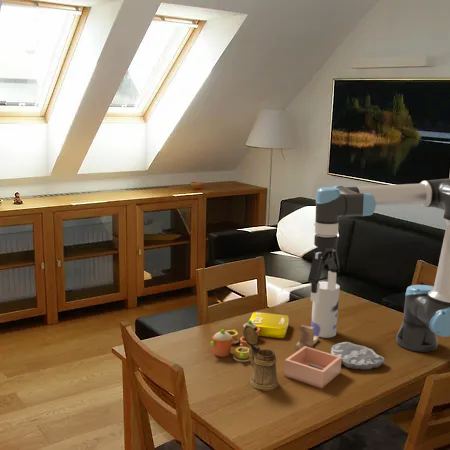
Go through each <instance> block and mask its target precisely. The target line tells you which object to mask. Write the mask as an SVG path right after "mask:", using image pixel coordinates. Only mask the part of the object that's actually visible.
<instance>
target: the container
mask: <svg viewBox="0 0 450 450" xmlns="http://www.w3.org/2000/svg"><path fill="white" fill-rule="evenodd" d="M318 283H320V290H319V302H313V301H312V306H311V308H312V309H311V323H310V327H314V336H318V338H327V339H329V338H334V337H335V336H336V335H337V327H338V316H339V315H338V314H339V313H338V312H339V300H340V289H341V288H340V287H341V286H340V285H339V284H338V283H336V290H335V291H332V290H327V287H328V281H319V282H318Z"/></svg>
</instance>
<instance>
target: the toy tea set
mask: <svg viewBox="0 0 450 450" xmlns="http://www.w3.org/2000/svg"><path fill="white" fill-rule="evenodd" d="M246 325H248V326H251V327H252V328H253V329H254V330H255V331H256V333H257V335H258V337H259V331H260V328H259V327H257V326H256V325H255V324H254V323H252V321H251V320H250V319H249V320H248V321H247V322H245V323H244V324H243V325H242V326H243V329H244V328H245V326H246ZM238 335H239V333H238V331H237V330H236V329H229V330H225V329H223V328H222V329H221V330H220V331H218V332H216V333H215V334H213V335H212V336H211V341H210V346H212V350H213V354H214V355H215V356H216V357H221V358H223V357H224V358H225V357H228V356H229V355H230V354H231V350H232V349H231V348H232V345H236V344H238V343H239V342H240V344H239V346H237V347H236V348H235V349H234V350H235V353H234V354H233V356H232V357H233V359H234V361H236V362H241V363H246V362H250V359H249V349H250V347H251V346H250V345H249V344H248V343H247V342H246V341H245V339H244V336H241V337H238ZM239 338H240V339H239Z"/></svg>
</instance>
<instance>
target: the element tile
mask: <svg viewBox="0 0 450 450" xmlns="http://www.w3.org/2000/svg"><path fill="white" fill-rule="evenodd" d="M289 319H290V318H289V316H288V315H287V314H280V313H278V314H277V313H269V312H259V311H254V312H252V314H251V316H250V318H249V320H251V321H252V323H254V324H255V325H256V326H257V327H259V328H260V331H259V336H260V337H267V338H278V339H284V338H285V337H286V334H287V330H288V327H289V321H290V320H289ZM259 336H258V337H259Z"/></svg>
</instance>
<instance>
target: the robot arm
mask: <svg viewBox="0 0 450 450" xmlns="http://www.w3.org/2000/svg"><path fill="white" fill-rule="evenodd" d="M418 205H419V206H421V207H422V208H436V209H441V210H442V211H444V213H443V221H445V223H446V226H445V232H444V235H443V236H444V237H443V241H442V246H441V250H440V255H439V260H438V261H439V262H438V264H437V265H438V266H437V270H436V276H435V279H434V280H435V281H434V284H433V285H428V284H412V285H410V286H407V288H406V292H405V295H404V296H405V298H404V299H405V300H404V308H403V317H402V318H403V319H402V323H401V325H400V327H399V329H398V331H397V334H396V338H395V339H396V340H395V341H396V343H397V345H398V346H400V347H401V348H404V349H406V350H409V351H414V352H419V353H420V352H421V353H427V352H434V351H436V350H437V349H438V346H439V340H438V336H439V337H442V338H448V337H450V178H440V179H439V178H438V179H430V180H428V179H427V180H422V181H421V182H419V183H404V184H383V185H362V186H343V185H334V186H332V187H331V186H330V187H329V186H324V187H319V188H318V189H317V191H316V197H315V220H314V221H315V222H314V224H313V225H314V234H315V235H314V240H313V241H314V243H313V244H314V246H315V247H317V248H318V249H317V250H318V251H317V252H315V251H313V256H312V261H311V266H310V269H309V274H308V279H307V282H308V283H310V300H309V301H310V302H312V303H313V302H319V290H320V283H318V282H320V279H321V276H322V273H323V270H324V267H325V266H326V265H327V267H328V272H327V282H328V287H327V290H332V291H335V290H336V284H337V273H340V267H341V266H340V262H339V261H340V260H339V256H338V237H339V236H338V234H339V219H340V217H341V218H342V217H366V216H367V217H368V216H371V215H373V214H374V213H375V211H376V208H380V207H397V206H398V207H399V206H418Z"/></svg>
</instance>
